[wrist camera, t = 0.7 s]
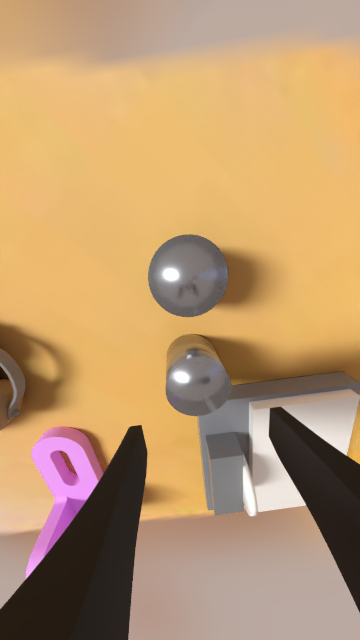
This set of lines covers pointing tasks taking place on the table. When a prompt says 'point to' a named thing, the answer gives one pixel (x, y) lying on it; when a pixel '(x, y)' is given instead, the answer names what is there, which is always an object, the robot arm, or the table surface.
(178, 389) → the cylinder
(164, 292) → the cylinder
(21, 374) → the alarm clock
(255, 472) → the scale
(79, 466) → the bracket
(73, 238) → the table surface
